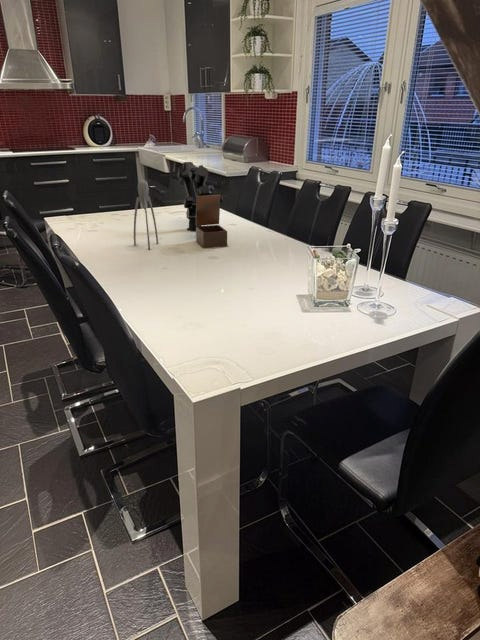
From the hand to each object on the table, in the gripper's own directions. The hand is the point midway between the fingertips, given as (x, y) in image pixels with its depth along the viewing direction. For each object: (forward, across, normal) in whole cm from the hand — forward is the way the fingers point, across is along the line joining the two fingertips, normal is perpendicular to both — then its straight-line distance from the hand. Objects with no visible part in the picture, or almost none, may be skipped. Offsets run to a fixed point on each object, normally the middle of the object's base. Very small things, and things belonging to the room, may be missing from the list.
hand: (206, 216), depth 225 cm
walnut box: (+13, 0, +4) cm, 14 cm away
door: (-1, 0, -3) cm, 4 cm away
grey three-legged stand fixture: (+10, -31, +7) cm, 34 cm away
